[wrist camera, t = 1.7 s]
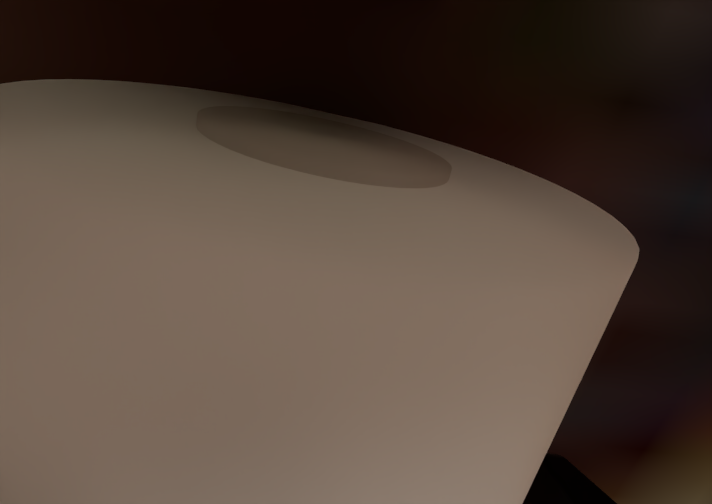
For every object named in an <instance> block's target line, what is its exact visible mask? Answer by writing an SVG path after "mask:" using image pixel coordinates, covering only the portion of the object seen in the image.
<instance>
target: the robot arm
mask: <svg viewBox="0 0 712 504" xmlns="http://www.w3.org/2000/svg"><path fill="white" fill-rule="evenodd" d="M523 504H617V503H615V502H614V501H613V500H612V499H611V498H610V497H609V496H607V495H606V494H605V493H604V492H603V491H602V490H601V489H600V488H598V487H597V486H596V485H595V484H594V483H593V482H592V481H590V480H589V479H588V478H587V477H586V476H585V475H584V474H582V473H581V472H580V471H579V470H578V469H577V468H576V467H575V466H573V465H572V464H571V463H570V462H569V461H568V460H567V459H565V458H564V457H562V456H560V455H556V454H550V453H546V455H545V457H544V459H543V461H542V463H541V466H540V468H539V470H538V472H537V474H536V476H535V478H534V480H533V482H532V485H531V487H530V489H529V491H528V493H527V495H526V497H525V499H524V501H523Z"/></svg>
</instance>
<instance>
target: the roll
mask: <svg viewBox="0 0 712 504" xmlns="http://www.w3.org/2000/svg"><path fill="white" fill-rule="evenodd" d="M638 255H639V247H638V245H637V242H636V240H635V238H634V237H633V235H632V234H631V233H630V232H629V231H628V230H627V228H626V227H625V226H624V225H622V224H621V223H620V222H619V221H618V220H616V219H615V218H614V217H613V216H611V215H610V214H608V213H607V212H605V211H604V210H602V209H601V208H599V207H598V206H596V205H595V204H593V203H591V202H589V201H587V200H586V199H584V198H582V197H580V196H579V195H577V194H575V193H573V192H571V191H569V190H567V189H565V188H562V187H560V186H558V185H556V184H554V183H552V182H550V181H547V180H545V179H543V178H541V177H538V176H536V175H534V174H531V173H529V172H526V171H524V170H521V169H519V168H516V167H514V166H511V165H508V164H506V163H503V162H500V161H498V160H495V159H492V158H489V157H486V156H483V155H481V154H478V153H475V152H472V151H469V150H466V149H463V148H460V147H457V146H453V145H450V144H447V143H444V142H441V141H437V140H434V139H431V138H427V137H424V136H420V135H417V134H413V133H410V132H406V131H403V130H399V129H395V128H392V127H388V126H384V125H380V124H376V123H372V122H367V121H363V120H358V119H354V118H349V117H345V116H341V115H336V114H332V113H327V112H323V111H318V110H314V109H309V108H305V107H300V106H296V105H292V104H287V103H282V102H276V101H271V100H266V99H260V98H254V97H248V96H242V95H236V94H230V93H223V92H217V91H210V90H203V89H195V88H187V87H179V86H170V85H161V84H151V83H140V82H128V81H111V80H89V79H44V80H29V81H17V82H10V83H3V84H0V504H523V501H524V499H525V497H526V495H527V493H528V491H529V489H530V487H531V485H532V482H533V480H534V478H535V476H536V474H537V472H538V470H539V468H540V466H541V463H542V461H543V459H544V457H545V455H546V453H547V451H548V449H549V447H550V444H551V442H552V440H553V438H554V436H555V434H556V432H557V430H558V428H559V425H560V423H561V421H562V419H563V417H564V415H565V413H566V411H567V409H568V406H569V404H570V402H571V400H572V398H573V396H574V394H575V392H576V390H577V387H578V385H579V383H580V381H581V379H582V377H583V375H584V373H585V371H586V368H587V366H588V364H589V362H590V360H591V358H592V356H593V354H594V352H595V349H596V347H597V345H598V343H599V341H600V339H601V337H602V335H603V333H604V330H605V328H606V326H607V324H608V322H609V320H610V318H611V316H612V314H613V311H614V309H615V307H616V305H617V303H618V301H619V299H620V297H621V295H622V292H623V290H624V288H625V286H626V284H627V282H628V280H629V278H630V276H631V273H632V271H633V269H634V267H635V265H636V263H637V261H638Z"/></svg>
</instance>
